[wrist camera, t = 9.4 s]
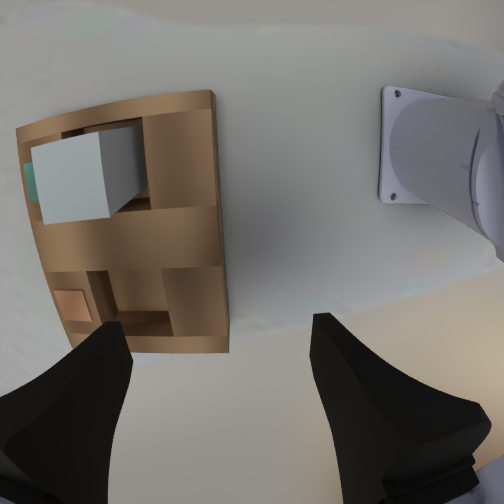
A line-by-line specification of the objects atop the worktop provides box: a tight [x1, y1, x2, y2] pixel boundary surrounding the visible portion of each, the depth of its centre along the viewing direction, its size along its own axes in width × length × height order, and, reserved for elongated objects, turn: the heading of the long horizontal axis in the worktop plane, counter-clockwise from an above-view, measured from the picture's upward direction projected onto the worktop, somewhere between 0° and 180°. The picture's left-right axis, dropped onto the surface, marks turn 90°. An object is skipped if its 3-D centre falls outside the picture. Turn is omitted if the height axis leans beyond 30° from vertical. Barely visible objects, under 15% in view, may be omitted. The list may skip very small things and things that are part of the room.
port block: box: [16, 90, 230, 353], centre depth 18 cm, size 12×16×4 cm
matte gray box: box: [31, 125, 148, 225], centre depth 14 cm, size 4×4×7 cm
